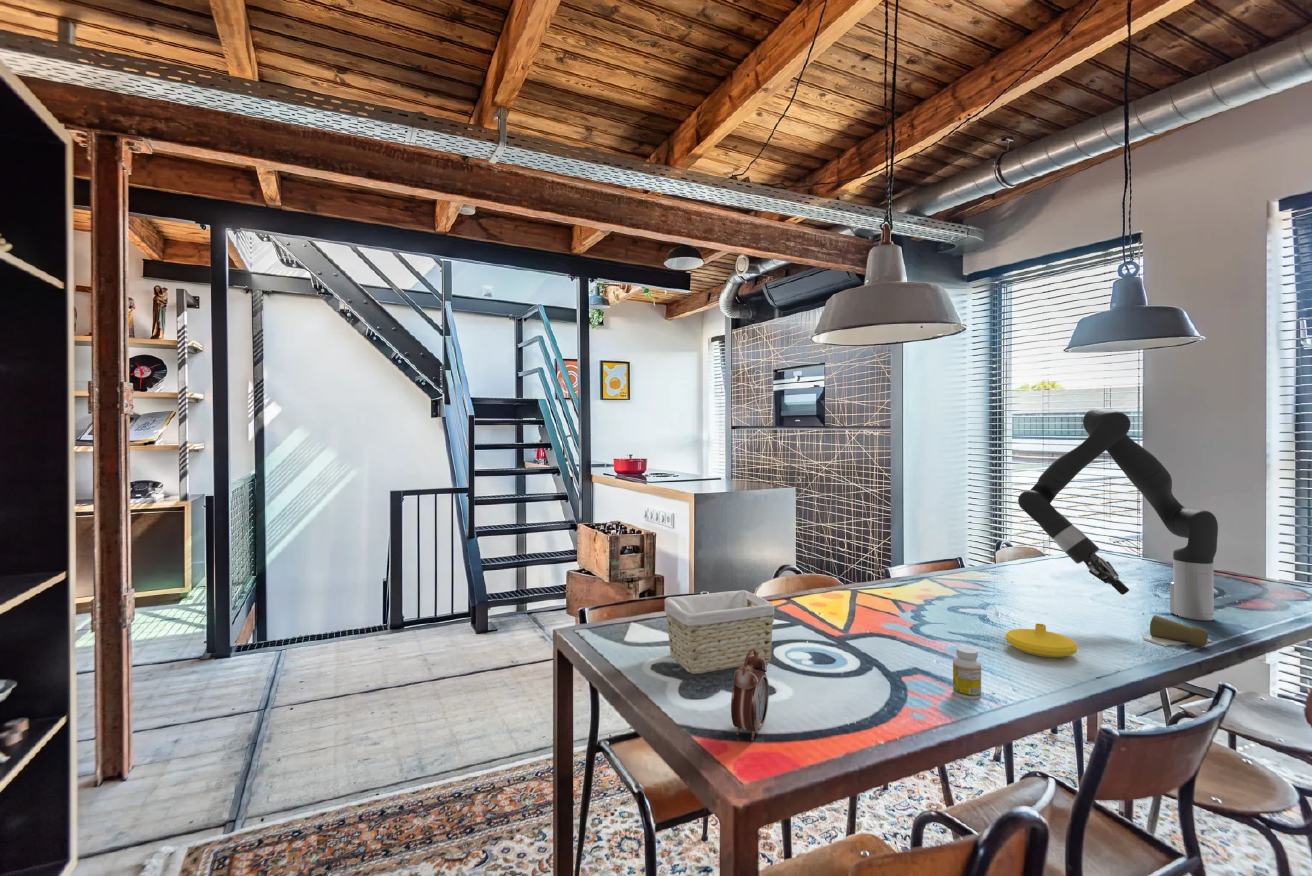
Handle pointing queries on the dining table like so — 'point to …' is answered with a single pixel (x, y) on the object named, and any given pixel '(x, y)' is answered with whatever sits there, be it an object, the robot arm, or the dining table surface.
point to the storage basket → (718, 629)
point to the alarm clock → (750, 694)
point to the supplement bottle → (967, 674)
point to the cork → (1178, 631)
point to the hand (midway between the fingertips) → (1126, 592)
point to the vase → (1041, 642)
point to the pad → (1166, 641)
